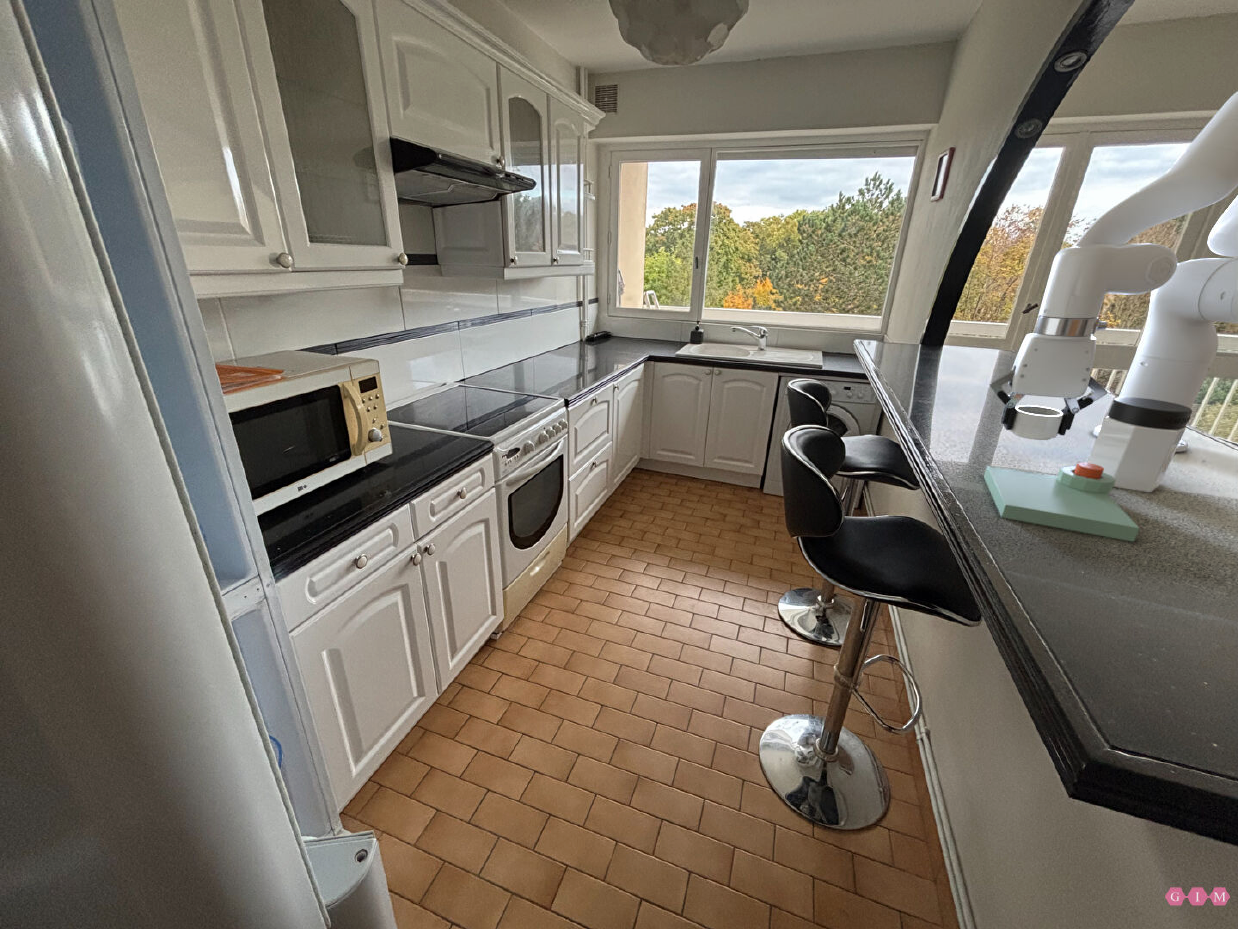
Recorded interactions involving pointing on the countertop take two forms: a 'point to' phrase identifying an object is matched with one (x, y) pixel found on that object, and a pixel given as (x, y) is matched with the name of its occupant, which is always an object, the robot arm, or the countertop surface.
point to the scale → (1060, 501)
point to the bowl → (1037, 422)
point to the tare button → (1089, 470)
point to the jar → (1139, 441)
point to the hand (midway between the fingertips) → (1033, 429)
